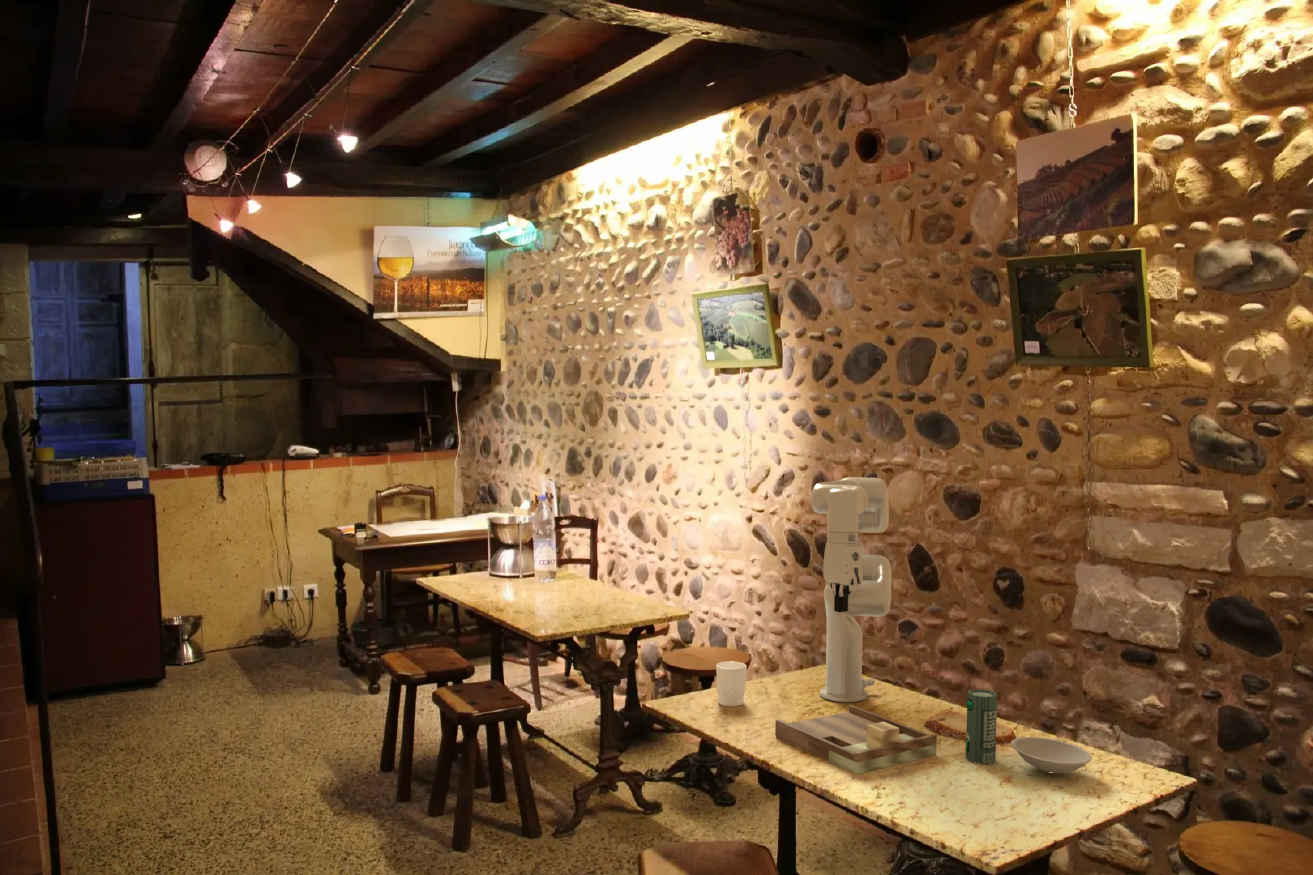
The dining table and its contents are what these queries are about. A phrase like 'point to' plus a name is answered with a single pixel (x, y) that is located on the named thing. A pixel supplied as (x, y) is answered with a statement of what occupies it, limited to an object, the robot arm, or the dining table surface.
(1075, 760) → the dish
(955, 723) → the bread slice
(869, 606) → the robot arm
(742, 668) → the white cup
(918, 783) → the dining table surface
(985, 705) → the can
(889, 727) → the maple block
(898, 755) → the box
